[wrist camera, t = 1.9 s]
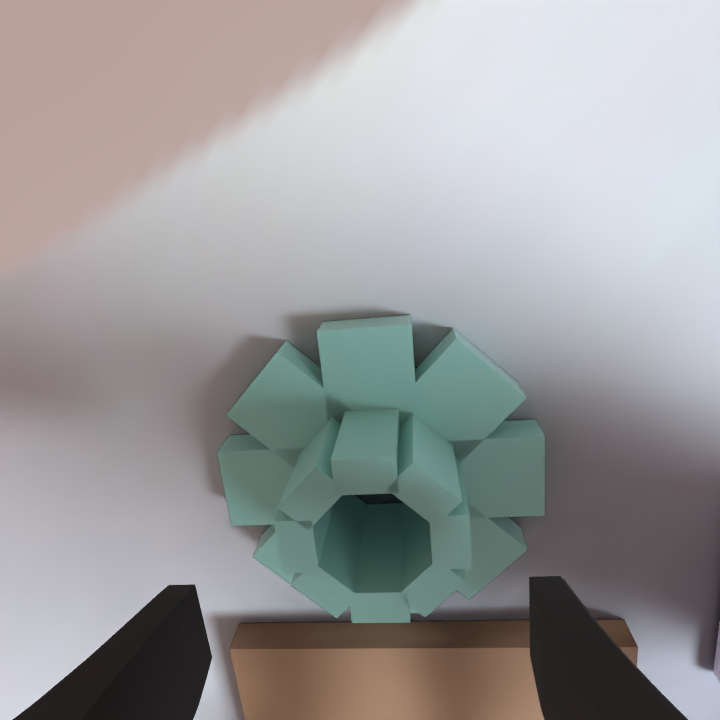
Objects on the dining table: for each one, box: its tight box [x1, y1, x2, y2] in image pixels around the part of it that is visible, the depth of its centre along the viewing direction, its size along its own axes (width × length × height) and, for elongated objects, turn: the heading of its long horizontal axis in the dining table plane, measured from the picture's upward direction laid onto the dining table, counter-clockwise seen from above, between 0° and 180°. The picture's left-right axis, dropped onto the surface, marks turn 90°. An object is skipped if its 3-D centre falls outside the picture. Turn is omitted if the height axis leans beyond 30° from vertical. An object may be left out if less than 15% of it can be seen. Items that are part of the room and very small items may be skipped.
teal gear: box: [217, 315, 545, 623], centre depth 16 cm, size 10×10×4 cm
